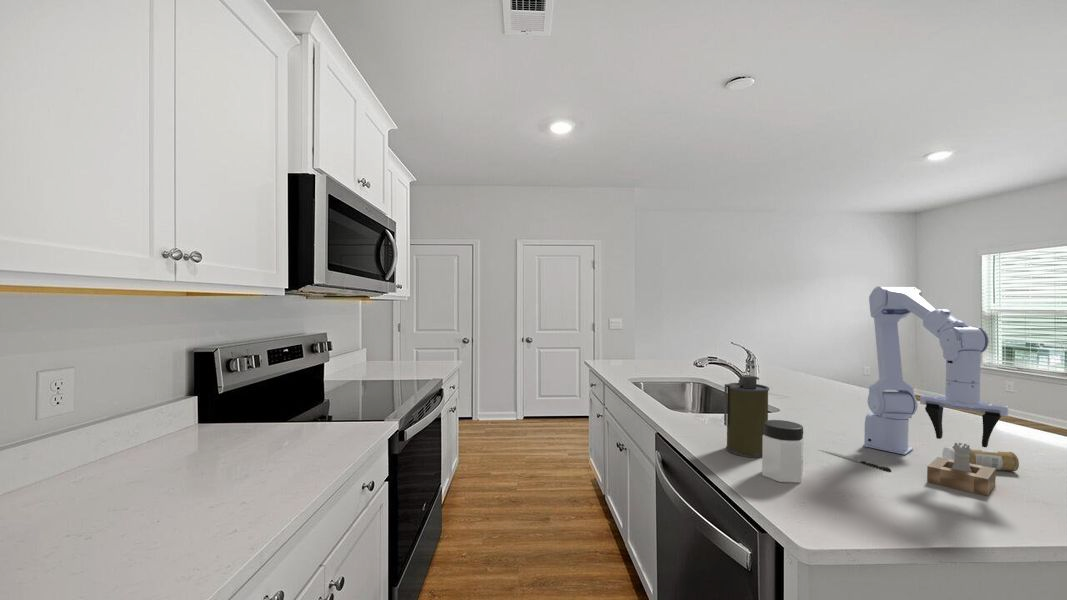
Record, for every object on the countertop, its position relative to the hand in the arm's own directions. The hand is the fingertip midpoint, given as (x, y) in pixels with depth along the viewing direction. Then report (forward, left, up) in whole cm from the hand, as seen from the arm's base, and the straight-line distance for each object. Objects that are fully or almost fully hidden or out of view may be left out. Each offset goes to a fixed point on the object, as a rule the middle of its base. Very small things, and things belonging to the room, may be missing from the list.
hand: (961, 442), depth 108 cm
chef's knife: (-21, -1, -10) cm, 23 cm away
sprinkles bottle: (+7, +20, -7) cm, 22 cm away
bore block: (0, 0, -9) cm, 9 cm away
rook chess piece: (0, 0, -9) cm, 9 cm away
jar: (-27, -27, -9) cm, 39 cm away
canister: (-41, -16, -9) cm, 45 cm away
